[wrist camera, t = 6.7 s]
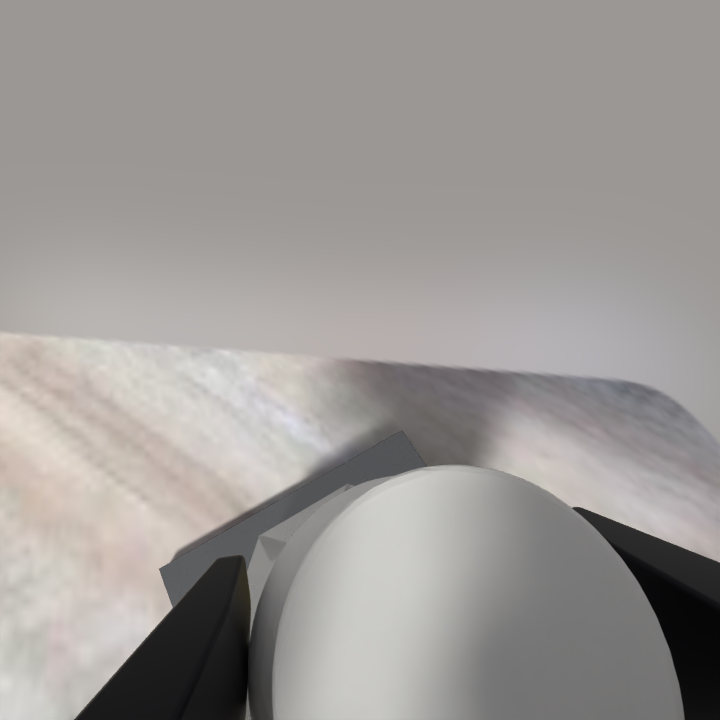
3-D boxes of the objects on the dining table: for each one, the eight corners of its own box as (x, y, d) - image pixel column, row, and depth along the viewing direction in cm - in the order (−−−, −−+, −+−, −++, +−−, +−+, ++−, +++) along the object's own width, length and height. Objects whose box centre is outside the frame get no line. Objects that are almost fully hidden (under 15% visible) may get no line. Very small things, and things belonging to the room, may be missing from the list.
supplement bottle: (291, 535, 14) (236, 399, 6) (462, 534, 14) (659, 405, 6) (276, 765, 11) (123, 1195, 3) (490, 758, 12) (932, 1122, 3)
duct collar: (296, 928, 14) (287, 1021, 11) (165, 570, 19) (131, 560, 16) (566, 684, 18) (620, 699, 15) (399, 436, 23) (412, 405, 19)
